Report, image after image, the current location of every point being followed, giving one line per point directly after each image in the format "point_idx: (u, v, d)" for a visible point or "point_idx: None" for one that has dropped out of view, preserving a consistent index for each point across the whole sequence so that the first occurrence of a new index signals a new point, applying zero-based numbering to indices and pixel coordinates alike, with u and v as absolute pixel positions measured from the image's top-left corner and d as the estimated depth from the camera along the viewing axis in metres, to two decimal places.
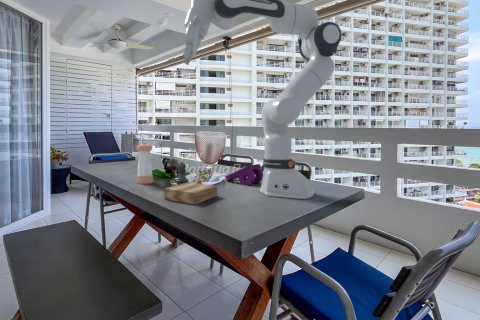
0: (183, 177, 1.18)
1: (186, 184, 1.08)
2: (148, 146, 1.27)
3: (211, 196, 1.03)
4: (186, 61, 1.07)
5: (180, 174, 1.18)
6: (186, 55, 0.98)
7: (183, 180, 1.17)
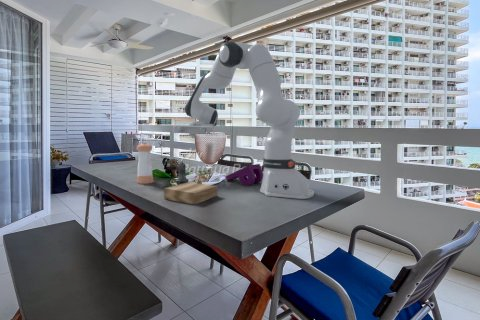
0: (183, 177, 1.18)
1: (186, 184, 1.08)
2: (148, 146, 1.27)
3: (211, 196, 1.03)
4: None
5: (180, 174, 1.18)
6: None
7: (183, 180, 1.17)
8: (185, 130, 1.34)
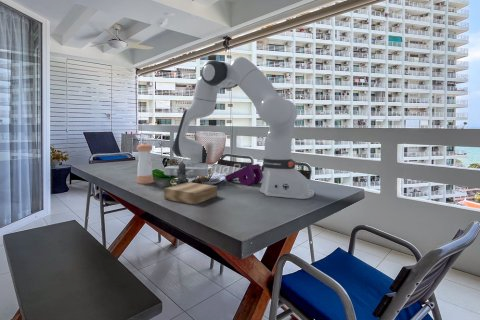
0: (183, 177, 1.18)
1: (186, 184, 1.08)
2: (148, 146, 1.27)
3: (211, 196, 1.03)
4: None
5: (180, 174, 1.18)
6: None
7: (183, 180, 1.17)
8: None
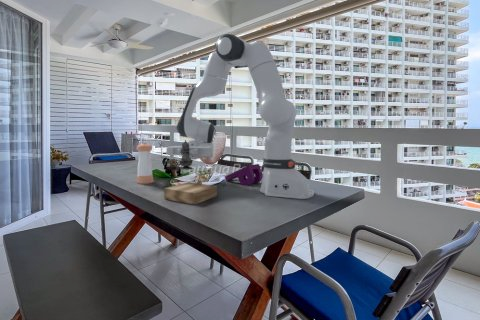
0: (187, 157, 1.11)
1: (186, 184, 1.08)
2: (148, 146, 1.27)
3: (211, 196, 1.03)
4: None
5: (184, 154, 1.11)
6: None
7: (187, 160, 1.11)
8: None
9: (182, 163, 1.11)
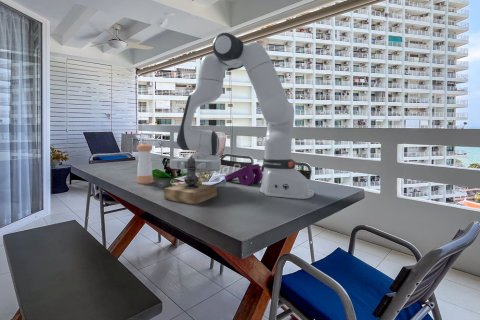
0: (192, 174, 1.01)
1: (186, 184, 1.08)
2: (148, 146, 1.27)
3: (211, 196, 1.03)
4: None
5: (189, 171, 1.01)
6: None
7: (192, 178, 1.01)
8: (185, 165, 1.07)
9: (187, 181, 1.01)
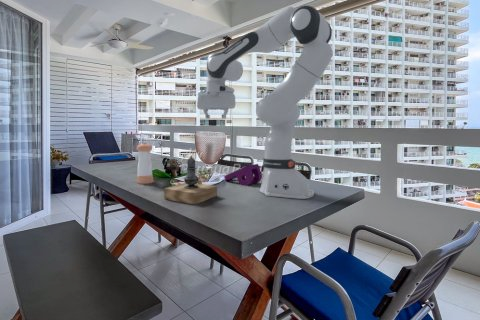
0: (192, 175, 1.01)
1: (186, 184, 1.08)
2: (148, 146, 1.27)
3: (211, 196, 1.03)
4: None
5: (189, 171, 1.01)
6: None
7: (192, 178, 1.01)
8: None
9: (187, 181, 1.01)
